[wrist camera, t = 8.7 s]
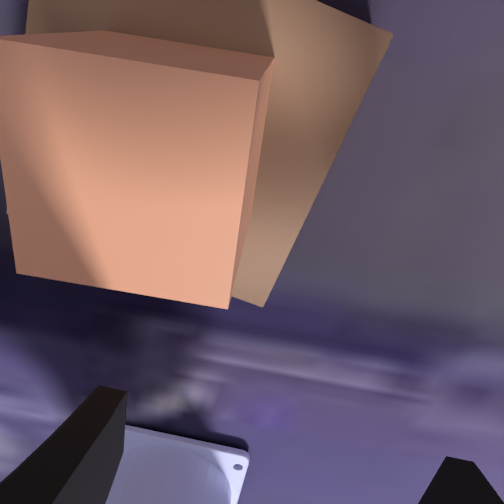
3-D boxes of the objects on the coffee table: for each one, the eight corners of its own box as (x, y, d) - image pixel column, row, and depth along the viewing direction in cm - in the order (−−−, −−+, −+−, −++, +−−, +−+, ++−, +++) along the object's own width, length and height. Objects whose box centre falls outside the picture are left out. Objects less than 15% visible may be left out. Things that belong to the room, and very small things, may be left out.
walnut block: (269, 253, 19) (263, 307, 15) (64, 175, 18) (6, 213, 14) (370, 31, 14) (393, 34, 11) (107, -84, 14) (41, -120, 10)
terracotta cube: (251, 215, 13) (227, 309, 9) (108, 191, 14) (16, 273, 9) (274, 57, 11) (259, 80, 7) (104, 30, 11) (-17, 36, 7)
